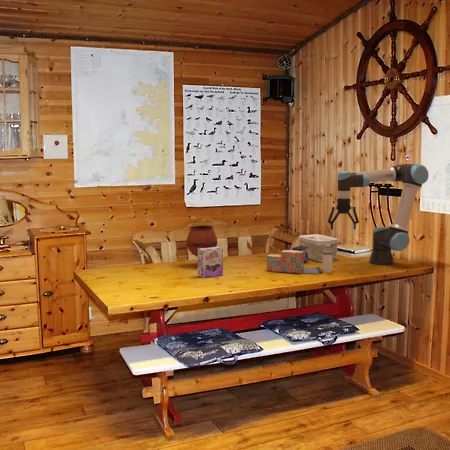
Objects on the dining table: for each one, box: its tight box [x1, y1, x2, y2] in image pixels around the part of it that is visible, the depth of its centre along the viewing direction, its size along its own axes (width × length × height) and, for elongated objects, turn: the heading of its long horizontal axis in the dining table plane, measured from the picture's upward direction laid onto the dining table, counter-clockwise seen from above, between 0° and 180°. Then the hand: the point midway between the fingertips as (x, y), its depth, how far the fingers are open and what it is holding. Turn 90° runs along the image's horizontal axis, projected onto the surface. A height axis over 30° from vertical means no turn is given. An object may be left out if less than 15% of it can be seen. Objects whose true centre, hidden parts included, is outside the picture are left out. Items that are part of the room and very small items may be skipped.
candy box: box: [197, 246, 224, 279], centre depth 333 cm, size 14×6×16 cm, turn 117°
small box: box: [291, 245, 309, 264], centre depth 368 cm, size 11×6×10 cm, turn 143°
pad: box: [299, 266, 324, 275], centre depth 345 cm, size 14×16×1 cm
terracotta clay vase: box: [186, 224, 218, 268], centre depth 360 cm, size 19×19×25 cm
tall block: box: [321, 251, 333, 273], centre depth 344 cm, size 5×6×12 cm
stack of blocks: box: [266, 249, 305, 274], centre depth 343 cm, size 21×6×12 cm, turn 66°
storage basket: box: [298, 233, 339, 263], centre depth 382 cm, size 24×16×15 cm
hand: (342, 234), depth 342 cm, fingers open, 11 cm apart
